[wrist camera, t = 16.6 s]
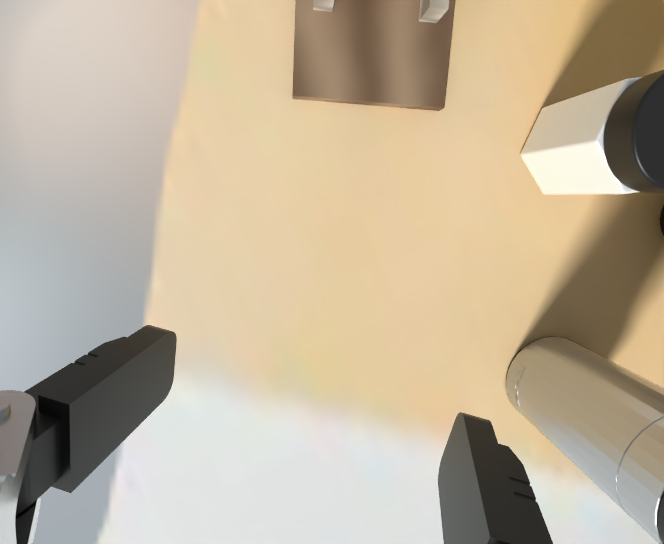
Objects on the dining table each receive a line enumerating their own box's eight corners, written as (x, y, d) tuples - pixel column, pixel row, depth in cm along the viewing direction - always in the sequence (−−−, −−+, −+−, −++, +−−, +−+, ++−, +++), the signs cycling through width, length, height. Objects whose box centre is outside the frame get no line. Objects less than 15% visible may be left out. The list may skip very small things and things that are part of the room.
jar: (621, 162, 38) (770, 147, 26) (552, 213, 38) (669, 222, 26) (577, 80, 36) (718, 24, 24) (505, 135, 36) (609, 107, 24)
